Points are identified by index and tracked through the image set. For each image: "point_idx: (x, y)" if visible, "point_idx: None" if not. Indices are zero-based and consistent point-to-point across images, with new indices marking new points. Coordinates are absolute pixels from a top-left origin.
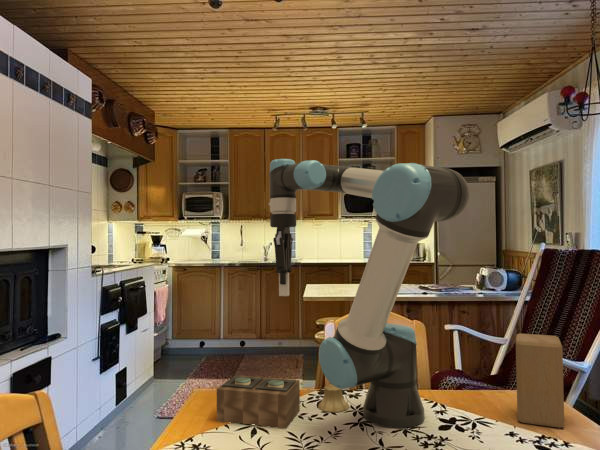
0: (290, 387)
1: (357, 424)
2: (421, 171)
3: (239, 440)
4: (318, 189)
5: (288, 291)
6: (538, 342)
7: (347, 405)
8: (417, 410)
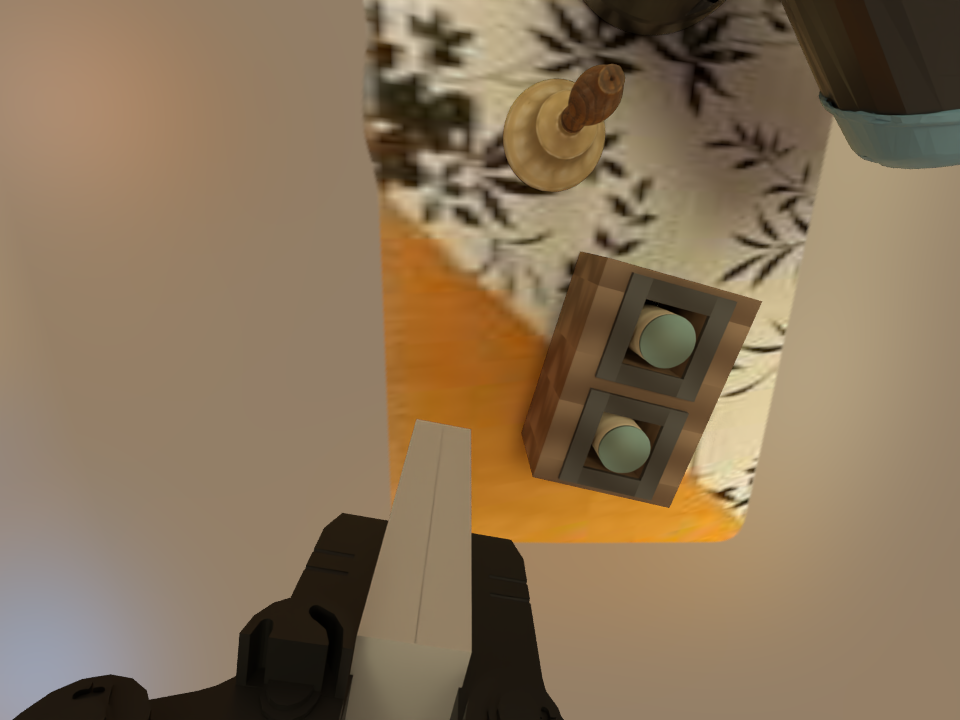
0: (691, 288)
1: (706, 68)
2: None
3: (752, 392)
4: None
5: (454, 449)
6: None
7: (573, 84)
8: None
